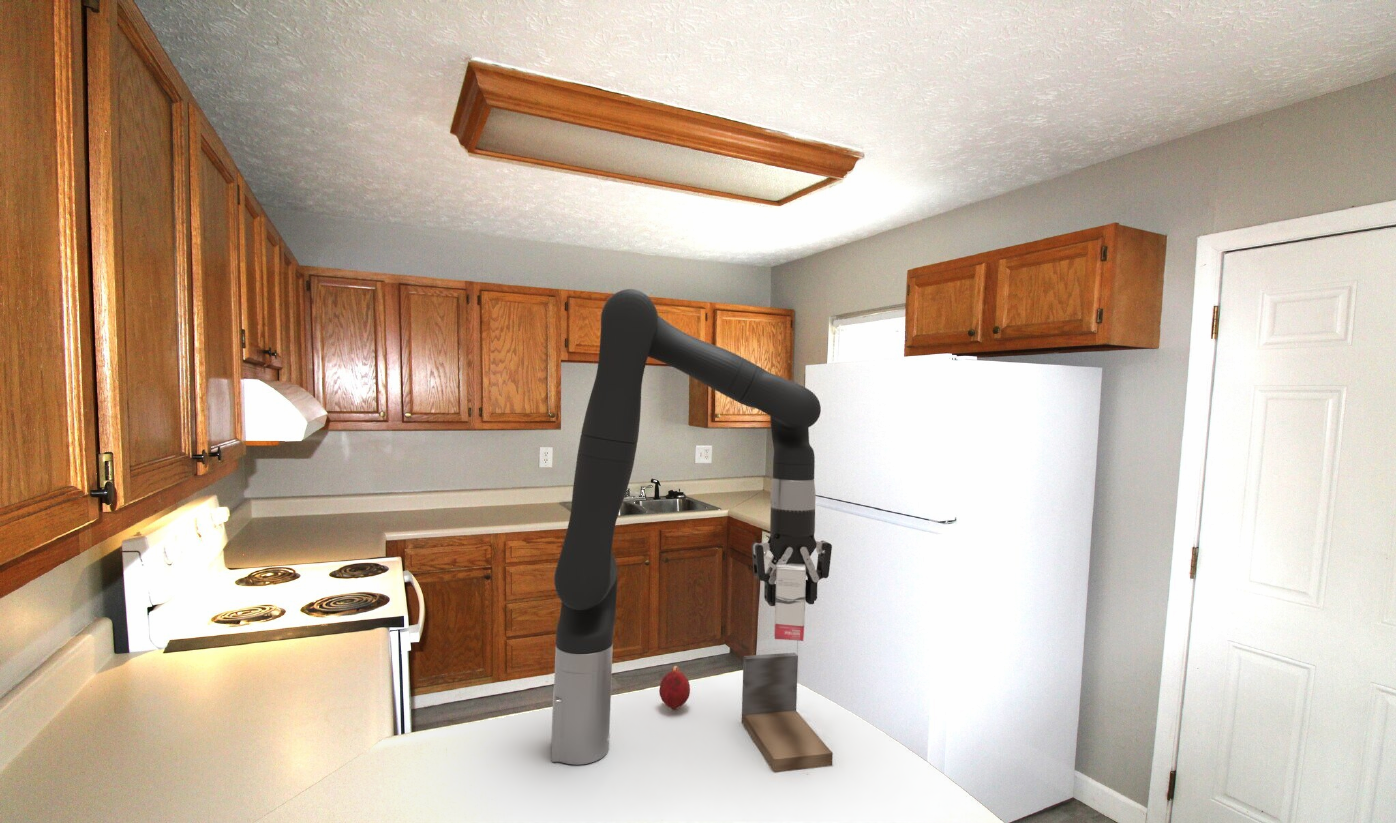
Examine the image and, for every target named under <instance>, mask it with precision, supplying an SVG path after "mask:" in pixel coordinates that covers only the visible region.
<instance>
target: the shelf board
mask: <svg viewBox="0 0 1396 823" xmlns="http://www.w3.org/2000/svg"><path fill="white" fill-rule="evenodd" d="M742 662H743V668H742V689H741V690H742V692H741V693H742V694H741V696H742V697H741V719H740V720H741V721H740V722H741V724H742V726H743V727H744V729H745V730H746V732H747V733H748V735H749V737H750V738H751V740H752V742H753V743H754V744H755V746H756V747H757V749H758V750H759V751H760V753H761V754H762V757H763V758H764V760H765V762H766V763H767V764H768V766H769V767H770V768H771V770H772V771H773V772H772V773H779V772H790V771H797V770H804V769H805V770H806V769H812V768H813V769H814V768H823V767H831V766H833V760H834V758H833V755H834V754H833V751H832V750H831V749H830V748H829V747H828V746H827V744H826V743H825V742H824V741H823V740H822V739H821V737H820V736H819V735H818V734H817V733H816V731H815V730H814V729H813V728H812V727H811V726H810V725H809V723H808V722H806V720H805V719H804V717H802V716H801V714H800V713H799V712H798V711H797V700H798V698H797V697H798V671H799V670H798V668H799V667H798V663H799V655H798V654H797V653H796V652H784V653H769V654H756V655H755V654H754V655H751V654H750V655H743V659H742Z"/></svg>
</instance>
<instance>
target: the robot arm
mask: <svg viewBox="0 0 1396 823" xmlns="http://www.w3.org/2000/svg"><path fill="white" fill-rule="evenodd" d="M600 315H601V316H600V337H599V339H600V340H599V341H600V342H599V352H598V360H597V361H598V362H597V367H596V368H597V369H596V375H595V379H594V382H593V386H592V389H591V393H590V396H589V399H588V403H587V407H586V411H585V416H584V419H583V424H582V427H581V432H580V434H581V435H580V438H579V445H578V450H577V454H576V456H577V457H576V463H575V471H574V478H573V479H574V480H573V485H572V486H573V488H572V496H571V508H570V516H569V520H568V525H567V529H566V532H565V536H564V540H563V544H562V547H561V551H560V554H559V557H558V560H557V564H556V568H555V571H554V578H553V581H554V582H553V583H554V588H555V592H556V594H557V596H558V598H559V600H560V601H561V606H560V607H561V608H560V614H559V618H558V622H557V626H556V632H555V652H554V653H555V655H554V656H555V657H554V675H553V676H554V678H553V679H554V681H553V687H552V689H553V690H552V691H553V692H552V714H551V715H552V716H551V739H550V740H551V742H550V744H551V746H550V747H551V748H550V750H551V762H553V763H555V762H559V763H564V764H566V765H567V764H568V765H586V764H592V763H595V762H597V761H599V760H602V758H604V757H605V756H606V755H607V754H608V752H609V749H610V736H611V733H610V730H611V729H610V725H611V724H610V723H611V703H612V702H611V700H612V699H611V698H612V677H613V676H612V672H613V671H612V669H613V647H614V646H613V644H614V643H613V642H614V632H615V631H614V630H615V625H616V616H617V612H616V611H617V597H618V596H617V593H618V565H617V560H616V558H615V556H614V554H613V553H612V552H613V551H612V550H613V543H614V534H615V529H616V528H615V527H616V524H617V520H618V516H619V513H620V510H621V508H622V506H623V502H624V499H625V496H626V493H627V490H628V488H629V483H630V480H631V476H632V473H633V470H634V469H633V468H634V464H635V459H636V453H637V446H638V441H639V434H640V424H641V409H642V408H641V406H642V388H643V387H642V386H643V378H644V374H645V369H646V365H647V362H648V361H647V360H648V358H650V359H653V360H655V361H659V362H661V363H663V364H666V365H668V366H669V367H672V368H674V369H676V370H677V371H680V372H682V373H684V374H686V375H688V376H689V377H691V378H693V379H695V380H697V381H698V382H700V383H702V384H703V385H705V386H706V387H708V388H711V389H713V390H714V391H716V392H718V393H719V394H721V395H724V396H726V397H727V398H730V399H731V400H733V401H735V402H737V403H739V404H741V405H742V406H746V407H749V408H754V409H757V410H759V411H761V412H763V413H764V414H766V415H768V416H770V418H769V420H770V422H769V423H770V432H771V440H772V447H773V457H772V458H773V459H772V482H771V488H770V498H769V504H770V514H769V515H770V516H769V519H770V520H769V521H770V522H769V524H770V525H769V528H770V529H769V530H770V531H769V532H770V533H769V534H770V535H769V538H768V540H767V542H760V543H758V542H756V541H754V542H752V543H751V554H752V555H751V556H752V566H753V567H752V568H753V569H752V570H753V576H754V577H755V579H758V580H759V581H762V582H764V589H763V590H764V592H763V595H764V597H763V599H764V601H765V602H767V603H766V604H767V605H768V606H770V607H775V599H776V573H777V567H776V566H777V565H781V564H782V565H785V564H789V563H793V564H805V565H806V578H807V579H806V593H805V603H806V604H808V605H815V602H816V601H817V600H818V582H820V580H822V579H828V577H829V576H830V568H831V567H830V566H831V560H832V559H831V558H832V550H833V545H832V544H831V543H830V542H828V541H826V540H821V541H816V539H815V532H816V499H817V498H816V495H817V494H816V485H815V469H816V465H815V463H816V461H815V458H816V457H815V450H814V449H813V447H812V446H811V444H810V432H809V430H810V429H809V428H811V427H812V426H813V425H814V424H816V422H817V421H818V420H819V418H820V416H821V409H822V408H821V407H822V406H821V402H820V400H819V399H818V396H817V395H816V394H815V393H814V392H813V391H812V390H810V389H808V388H807V387H805V386H803V385H801V384H799V383H796V382H794V381H792V380H789V379H787V378H785V377H782V376H780V375H777V374H774V373H771V372H769V371H767V370H765V369H764V368H763V367H761V366H759V365H757V364H756V363H754V362H752V361H750V360H748V359H746V358H744V357H742V356H740V355H738V354H736V353H735V352H732V351H730V350H728V349H725V348H723V347H721V346H717V345H715V344H712V343H709V342H706V341H704V340H701V339H699V338H697V337H694V336H692V335H690V334H688V333H685V332H684V331H682V330H680V329H679V328H677V327H675V325H672V324H671V323H670V322H668V321H666V320H665V319H664V318H663V317H661V316H660V315H659V313H658V310H657V308H656V306H655V304H654V302H653V300H651V298H650V297H649V296H648V295H647V294H646V293H644V292H643V291H640V290H638V289H635V288H634V289H633V288H629V289H628V288H626V289H622V290H620V291H616V292H615V293H614V294H612V296H610V297H609V298H608V299H607V301H606V302H605V303H604V305H603V307H602V310H601V314H600ZM768 550H769V551H770V553H771V555H772V557H771V558H770V560H769V562H768V566H767V569H766V568H765V566H766V565H765V557H766V555H767V554H768ZM815 550H816V553H817V563H816V566H815V564H814V562H813V560H812V558H811V556H812V554H813V553H814V551H815ZM777 562H778V563H777Z"/></svg>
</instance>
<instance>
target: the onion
mask: <svg viewBox="0 0 1396 823" xmlns="http://www.w3.org/2000/svg"><path fill="white" fill-rule="evenodd" d="M660 681H661V682H660V685H659V690H658V691H659V692H658V693H659V697H660V700H661V702H662V703H663V704H664V705H665V706H666V707H668V708H670V709H671V710H673V711H675V710H677V709H679V708H681V706H683V705H684V704H685V703H686V702H687V701H688V699H689V698H690V694H691V685H690V682H689V679H688V678H687V676H686V675H685V674H684V673H683V672H681V671H680V667H678V666H677V665H675V666H673V667H672V670H671V671H670V672H668V673H667V674H666V675H664V676H663V678H662V679H661V680H660Z"/></svg>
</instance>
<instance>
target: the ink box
mask: <svg viewBox="0 0 1396 823" xmlns="http://www.w3.org/2000/svg"><path fill="white" fill-rule="evenodd" d="M777 563H778V562H777ZM776 567H777V573H776V581H775V584H776V599H775V606H774V608H775V609H774V640H782V641H783V640H784V641H796V642H804V639H805V638H804V636H805V620H806V619H805V618H806V617H805V616H806V601H805V593H806V580H807V579H806V578H807V576H806V565H805V564H793V563H789V564H785V565H782V564H781V565H777V566H776Z"/></svg>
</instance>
